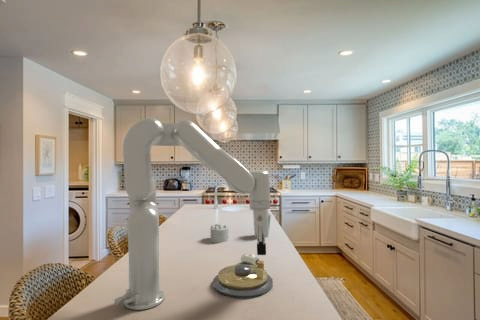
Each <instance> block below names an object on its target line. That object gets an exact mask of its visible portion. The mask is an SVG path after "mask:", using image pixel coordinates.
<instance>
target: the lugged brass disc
mask: <svg viewBox="0 0 480 320" xmlns="http://www.w3.org/2000/svg"><path fill="white" fill-rule="evenodd" d="M267 274H268V272H267V270H266V269H265V261H264V260H260V261H257V266H254V265H251V264H233V265H229V266H225V267H224V268H221V269H220V270H219V271H218V273H217V275H218V281H219V284H220V285H221V286H223V287H225V288H227V289H231V290H239V291H246V290H254V289H257V288H260V287H262V286H264V285H265V284H266V283H267Z"/></svg>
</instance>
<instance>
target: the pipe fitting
mask: <svg viewBox="0 0 480 320" xmlns="http://www.w3.org/2000/svg"><path fill="white" fill-rule="evenodd" d="M257 261H261V260H260V258H259V257H257V256H256V255H255V254H253V253H250V254H249V255H247V254H245V253H243V254H242V255H241V257H240V262H241V263H243V264H247V265H254V266H257Z"/></svg>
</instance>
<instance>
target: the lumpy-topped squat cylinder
mask: <svg viewBox="0 0 480 320" xmlns="http://www.w3.org/2000/svg"><path fill="white" fill-rule="evenodd" d="M209 229H210V242H212V243H216V244H222V242H223V243H225V242H228V241H229V240H228V239H230V238H229V237H230V235H229V232H230V231H229V226H228V224H224V223H215V224H212V225H211V226H210V228H209Z"/></svg>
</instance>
